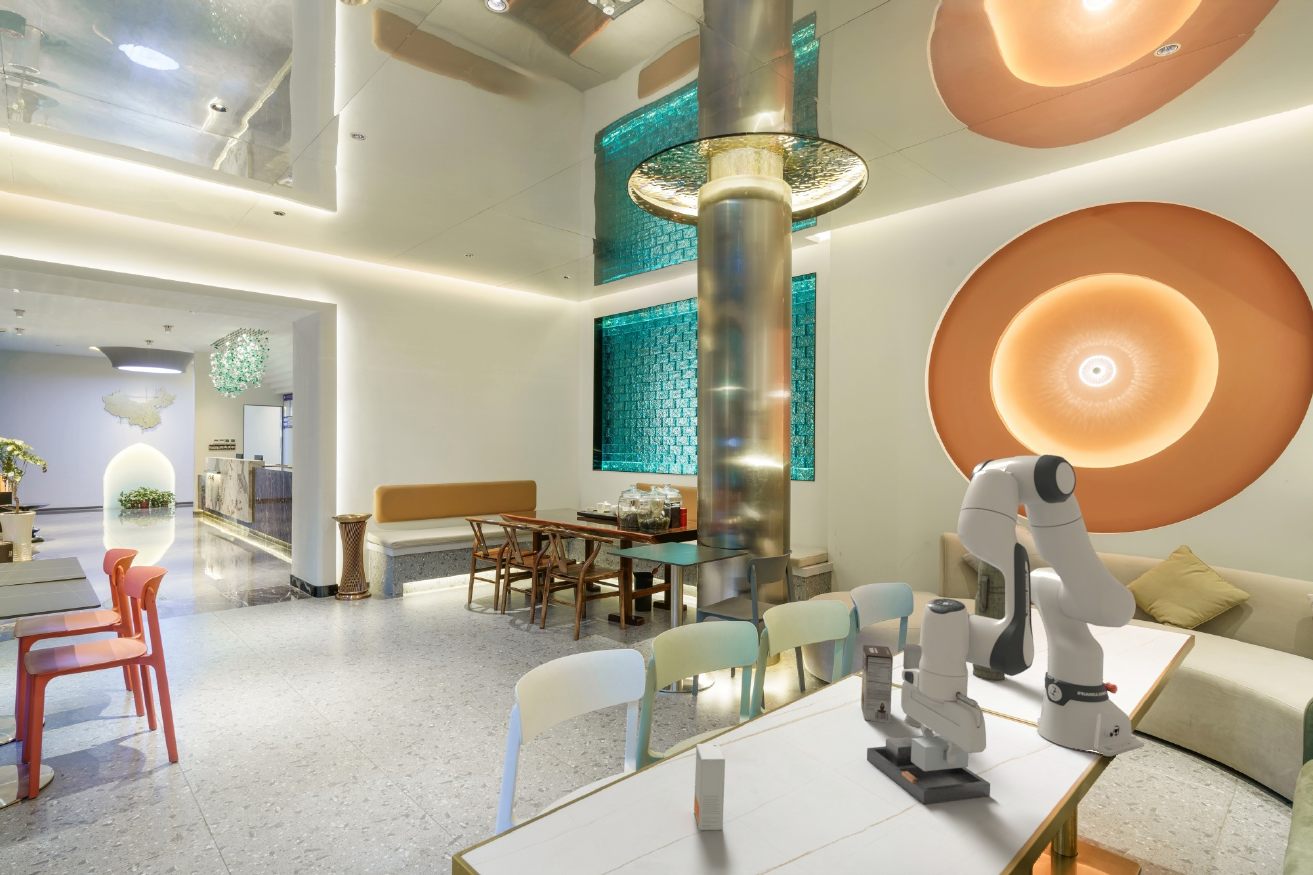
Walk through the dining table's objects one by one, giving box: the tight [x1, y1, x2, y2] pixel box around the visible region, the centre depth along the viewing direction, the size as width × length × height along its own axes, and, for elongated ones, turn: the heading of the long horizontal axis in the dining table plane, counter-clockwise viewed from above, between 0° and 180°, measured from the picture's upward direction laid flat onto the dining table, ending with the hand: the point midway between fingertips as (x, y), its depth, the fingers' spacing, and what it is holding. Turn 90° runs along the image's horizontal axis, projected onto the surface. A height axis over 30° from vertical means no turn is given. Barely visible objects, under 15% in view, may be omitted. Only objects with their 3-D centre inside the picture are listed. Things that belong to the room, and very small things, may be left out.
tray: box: [866, 735, 991, 805], centre depth 133 cm, size 15×18×5 cm
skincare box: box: [693, 743, 726, 831], centre depth 114 cm, size 6×4×12 cm
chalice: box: [901, 643, 922, 728], centre depth 161 cm, size 7×7×18 cm
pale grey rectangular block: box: [911, 735, 970, 771], centre depth 129 cm, size 10×4×4 cm, turn 106°
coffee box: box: [860, 644, 894, 724], centre depth 164 cm, size 9×6×16 cm
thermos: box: [972, 559, 1006, 682], centre depth 199 cm, size 9×12×35 cm
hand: (939, 755), depth 129 cm, fingers closed on pale grey rectangular block, 4 cm apart
